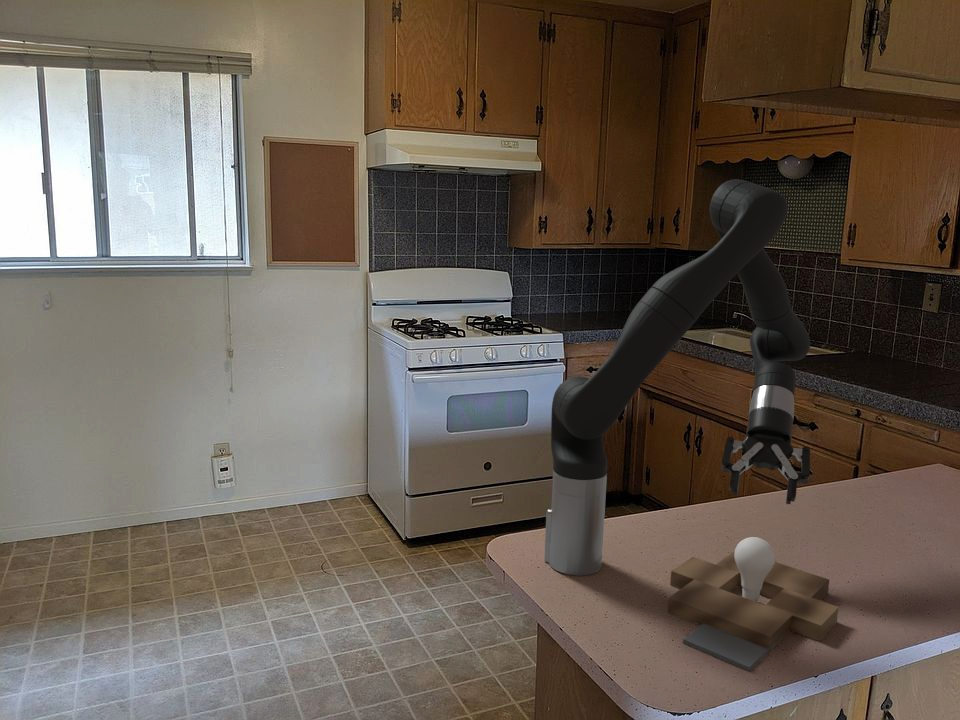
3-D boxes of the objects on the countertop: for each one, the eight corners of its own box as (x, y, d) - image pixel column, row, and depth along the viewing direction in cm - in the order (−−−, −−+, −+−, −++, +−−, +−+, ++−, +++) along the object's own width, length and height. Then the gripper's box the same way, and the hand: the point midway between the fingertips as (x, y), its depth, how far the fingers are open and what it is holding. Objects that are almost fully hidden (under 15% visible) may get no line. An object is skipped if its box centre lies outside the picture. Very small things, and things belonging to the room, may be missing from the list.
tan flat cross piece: (644, 602, 124) (645, 588, 124) (713, 555, 142) (714, 542, 141) (797, 664, 108) (799, 648, 108) (854, 602, 126) (856, 588, 125)
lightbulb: (738, 589, 129) (744, 527, 127) (775, 601, 125) (782, 538, 123) (724, 603, 125) (730, 539, 122) (762, 616, 121) (768, 550, 119)
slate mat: (682, 642, 113) (683, 639, 113) (711, 619, 119) (711, 616, 119) (749, 671, 106) (749, 667, 106) (775, 645, 113) (775, 641, 113)
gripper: (729, 400, 139) (717, 481, 131) (815, 410, 134) (808, 495, 126) (729, 422, 145) (718, 500, 137) (812, 432, 140) (805, 514, 131)
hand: (761, 498), depth 131 cm, fingers open, 8 cm apart
